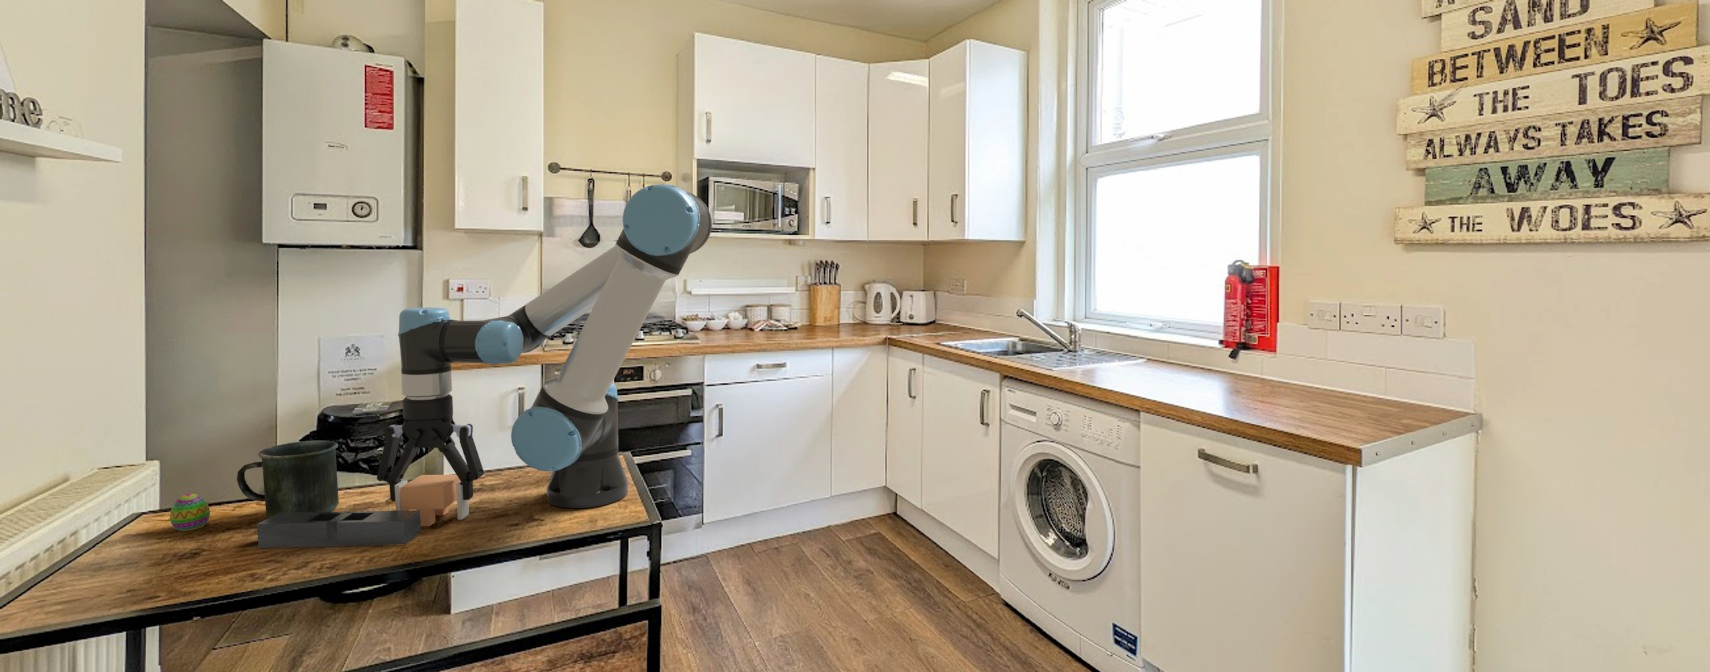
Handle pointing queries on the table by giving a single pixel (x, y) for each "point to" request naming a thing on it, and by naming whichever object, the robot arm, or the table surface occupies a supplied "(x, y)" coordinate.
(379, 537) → the rail
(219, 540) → the table surface
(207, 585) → the table surface
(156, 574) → the table surface
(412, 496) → the tan block with tab
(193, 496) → the egg
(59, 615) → the table surface
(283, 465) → the mug
